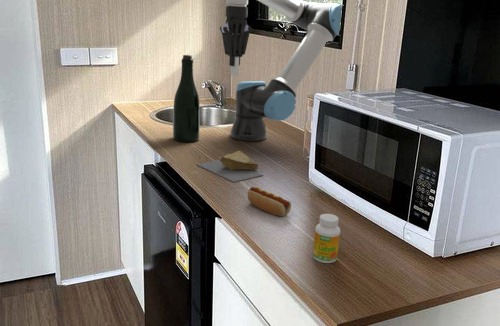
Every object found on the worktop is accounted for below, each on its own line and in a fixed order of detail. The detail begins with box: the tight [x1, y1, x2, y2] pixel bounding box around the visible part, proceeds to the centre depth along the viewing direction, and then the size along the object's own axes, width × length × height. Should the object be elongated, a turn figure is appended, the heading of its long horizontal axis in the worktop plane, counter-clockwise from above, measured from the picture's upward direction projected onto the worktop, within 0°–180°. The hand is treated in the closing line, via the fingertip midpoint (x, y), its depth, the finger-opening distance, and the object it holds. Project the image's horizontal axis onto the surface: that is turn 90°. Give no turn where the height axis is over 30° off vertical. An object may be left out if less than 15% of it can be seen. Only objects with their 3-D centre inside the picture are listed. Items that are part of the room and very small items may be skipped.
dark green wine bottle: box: [172, 54, 201, 143], centre depth 189 cm, size 10×10×33 cm
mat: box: [196, 159, 264, 183], centre depth 161 cm, size 12×20×1 cm, turn 41°
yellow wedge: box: [219, 150, 259, 171], centre depth 163 cm, size 11×9×10 cm
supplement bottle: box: [312, 213, 341, 264], centre depth 106 cm, size 5×5×10 cm
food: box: [247, 186, 292, 217], centre depth 131 cm, size 14×6×5 cm, turn 44°
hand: (234, 75), depth 174 cm, fingers closed
